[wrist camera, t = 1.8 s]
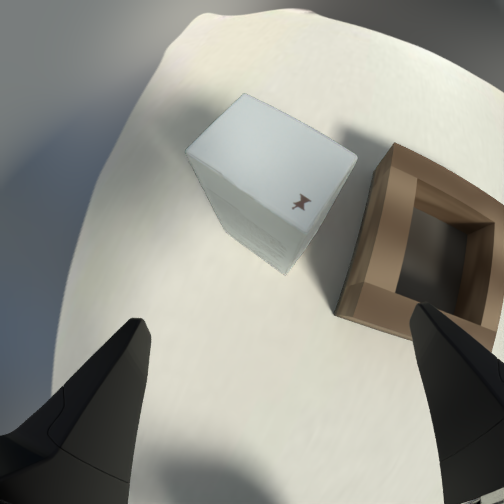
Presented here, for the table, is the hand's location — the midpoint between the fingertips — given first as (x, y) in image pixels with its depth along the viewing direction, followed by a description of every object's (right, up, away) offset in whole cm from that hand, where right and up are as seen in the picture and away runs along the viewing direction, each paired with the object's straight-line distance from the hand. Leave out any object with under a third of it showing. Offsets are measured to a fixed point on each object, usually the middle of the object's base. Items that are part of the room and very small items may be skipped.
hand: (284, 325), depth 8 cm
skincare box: (0, +4, +14) cm, 14 cm away
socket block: (+14, +1, +13) cm, 18 cm away
